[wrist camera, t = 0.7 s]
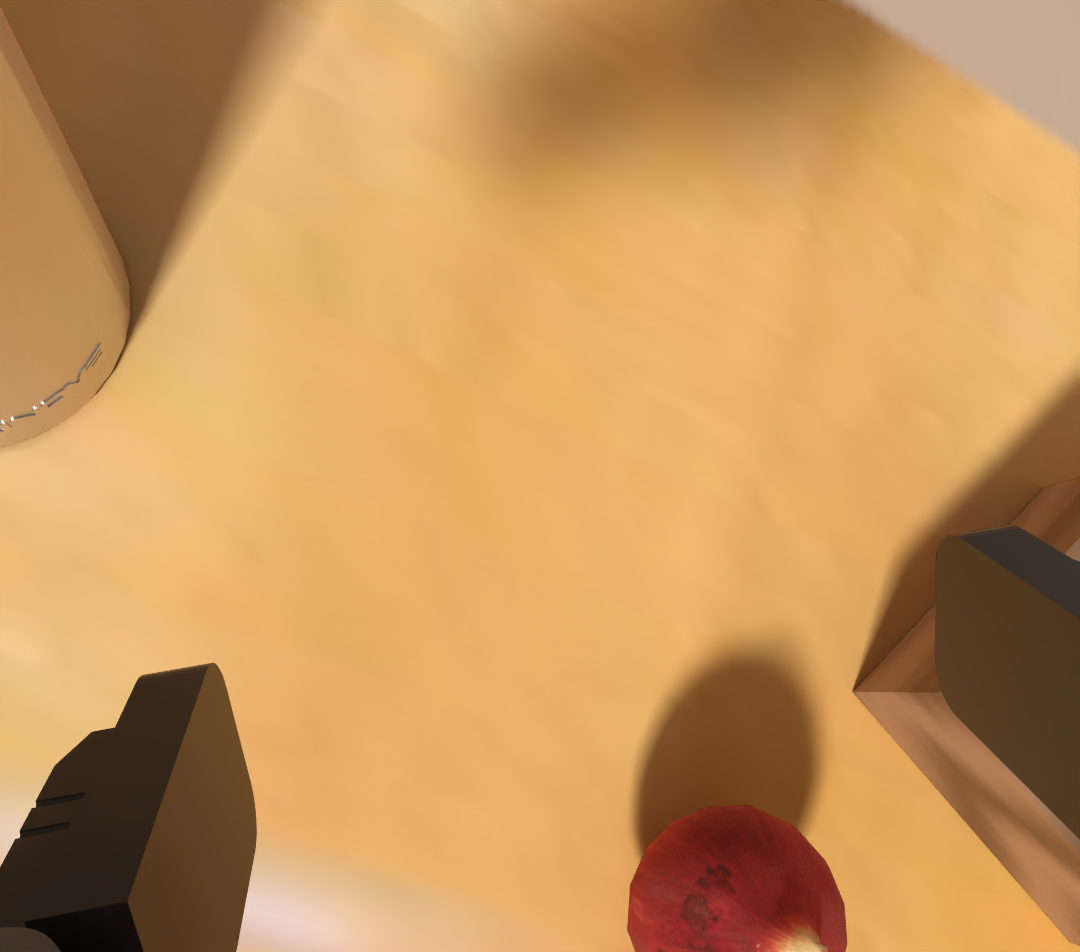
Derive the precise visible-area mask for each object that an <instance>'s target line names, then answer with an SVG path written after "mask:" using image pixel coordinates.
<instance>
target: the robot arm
mask: <svg viewBox="0 0 1080 952" xmlns="http://www.w3.org/2000/svg"><path fill="white" fill-rule="evenodd" d="M130 316H131V313H130V286H129V282H128V278H127V275H126V271H125V267H124V264H123V260H122V257H121V255H120V253H119V251H118V249H117V247H116V245H115V243H114V241H113V239H112V236H111V234H110V232H109V230H108V228H107V226H106V224H105V222H104V220H103V218H102V216H101V214H100V212H99V210H98V208H97V206H96V203H95V201H94V198H93V196H92V194H91V192H90V190H89V188H88V185H87V183H86V181H85V179H84V177H83V175H82V173H81V171H80V169H79V167H78V165H77V163H76V161H75V159H74V157H73V155H72V153H71V151H70V149H69V146H68V144H67V142H66V140H65V138H64V136H63V134H62V132H61V130H60V128H59V126H58V124H57V122H56V120H55V118H54V116H53V114H52V112H51V109H50V107H49V105H48V103H47V101H46V99H45V97H44V95H43V93H42V91H41V89H40V87H39V85H38V83H37V81H36V79H35V77H34V75H33V73H32V70H31V68H30V66H29V64H28V62H27V60H26V58H25V56H24V54H23V52H22V50H21V48H20V46H19V44H18V42H17V40H16V38H15V36H14V33H13V31H12V29H11V27H10V25H9V23H8V21H7V19H6V17H5V15H4V13H3V11H2V9H1V7H0V448H4V447H7V446H10V445H13V444H16V443H19V442H22V441H25V440H28V439H31V438H34V437H37V436H39V435H40V434H42V433H44V432H46V431H47V430H49V429H51V428H53V427H55V426H56V425H58V424H60V423H62V422H63V421H65V420H67V419H68V418H69V417H70V416H72V415H73V414H74V413H75V412H76V411H77V410H79V409H80V408H81V407H82V406H83V405H84V404H86V403H87V402H88V401H89V400H90V399H91V398H92V397H93V396H94V395H95V393H96V392H97V391H98V390H99V388H100V387H101V386H102V384H103V383H104V382H105V380H106V379H107V378H108V376H109V375H110V374H111V373H112V370H113V368H114V366H115V364H116V362H117V360H118V358H119V355H120V353H121V351H122V349H123V347H124V345H125V340H126V335H127V330H128V325H129V320H130ZM935 669H936V675H937V679H938V683H939V686H940V689H941V692H942V694H943V696H944V698H945V701H946V702H947V704H948V706H949V707H950V709H951V710H952V712H953V713H954V714H955V715H956V716H957V718H958V719H959V720H960V721H961V722H962V723H963V724H964V725H965V726H966V727H967V728H968V729H969V730H970V731H971V732H972V733H973V734H974V735H975V736H976V737H977V738H978V739H979V740H980V741H981V742H982V743H983V744H984V745H985V746H986V747H987V748H988V749H989V750H990V751H991V752H992V753H993V754H994V755H995V756H996V757H997V758H998V759H999V760H1000V761H1001V762H1002V763H1003V764H1004V765H1005V766H1006V767H1007V768H1008V769H1009V770H1010V771H1011V772H1012V773H1013V774H1014V775H1015V776H1016V777H1017V778H1018V779H1019V780H1020V781H1021V782H1022V783H1023V784H1024V785H1025V786H1026V787H1027V788H1028V789H1029V790H1030V791H1031V792H1032V793H1033V794H1034V795H1035V796H1036V797H1037V798H1038V799H1039V800H1040V801H1041V802H1042V803H1043V804H1044V805H1045V806H1046V807H1047V808H1048V809H1049V810H1050V811H1051V812H1052V813H1053V814H1054V815H1055V816H1056V817H1057V818H1058V819H1059V820H1060V821H1061V822H1062V823H1063V824H1064V825H1065V826H1066V827H1067V828H1068V829H1069V830H1070V831H1071V832H1072V833H1073V834H1074V835H1075V836H1076V837H1077V838H1078V839H1079V840H1080V561H1077V560H1074V559H1072V558H1070V557H1069V556H1067V555H1065V554H1064V553H1062V552H1060V551H1059V550H1057V549H1055V548H1054V547H1052V546H1050V545H1049V544H1047V543H1045V542H1044V541H1042V540H1040V539H1039V538H1037V537H1035V536H1034V535H1032V534H1030V533H1029V532H1027V531H1025V530H1024V529H1022V528H1020V527H1018V526H1015V525H1006V526H1000V527H994V528H989V529H983V530H977V531H971V532H966V533H960V534H954V535H949V536H946V537H945V538H944V539H943V540H942V541H941V542H940V544H939V547H938V549H937V554H936V582H935ZM256 833H257V829H256V811H255V802H254V796H253V790H252V786H251V782H250V778H249V774H248V770H247V766H246V762H245V758H244V754H243V751H242V747H241V743H240V739H239V735H238V731H237V727H236V723H235V719H234V716H233V712H232V708H231V704H230V700H229V696H228V692H227V688H226V685H225V681H224V678H223V676H222V673H221V671H220V669H219V668H218V666H217V665H216V664H215V663H209V664H204V665H198V666H192V667H187V668H181V669H175V670H170V671H164V672H158V673H152V674H147V675H142V676H140V677H139V678H138V680H137V682H136V684H135V686H134V688H133V690H132V692H131V695H130V697H129V699H128V701H127V703H126V705H125V707H124V710H123V712H122V714H121V716H120V718H119V720H118V722H117V725H116V727H115V728H110V729H105V730H99V731H94V732H91V733H90V734H89V735H88V736H87V737H86V738H85V739H84V740H82V741H81V742H80V743H79V744H78V745H77V746H76V747H75V748H74V749H73V750H71V751H70V752H69V753H68V754H67V755H66V756H65V757H64V758H63V759H62V760H60V761H59V762H58V763H57V764H56V765H55V766H54V768H53V770H52V772H51V774H50V775H49V777H48V779H47V781H46V783H45V785H44V787H43V788H42V790H41V792H40V794H39V796H38V798H37V800H36V808H32V809H31V811H30V813H29V815H28V816H27V818H26V820H25V822H24V824H23V826H22V828H21V829H20V838H18V839H15V841H14V843H13V844H12V846H11V848H10V850H9V852H8V854H7V856H6V857H5V859H4V861H3V863H2V865H1V867H0V952H236V950H237V945H238V939H239V934H240V929H241V923H242V918H243V913H244V907H245V902H246V897H247V891H248V886H249V881H250V875H251V870H252V865H253V859H254V854H255V848H256Z"/></svg>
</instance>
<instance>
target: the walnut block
mask: <svg viewBox="0 0 1080 952" xmlns="http://www.w3.org/2000/svg"><path fill="white" fill-rule="evenodd" d="M1009 525H1015V526H1018V527H1020V528H1022V529H1024V530H1025V531H1027V532H1029V533H1030V534H1032V535H1034V536H1035V537H1037V538H1039V539H1040V540H1042V541H1044V542H1045V543H1047V544H1049V545H1050V546H1052V547H1054V548H1055V549H1057V550H1059V551H1060V552H1062V553H1064V554H1065V555H1067V556H1069V557H1070V558H1072V559H1074V560H1077V561H1080V478H1076V479H1073V480H1069V481H1066V482H1062V483H1058V484H1055V485H1051V486H1048V487H1044V488H1043V489H1042V490H1041V491H1040V492H1039V493H1038V495H1037V496H1036V497H1035V498H1034V499H1033V500H1032V501H1031V502H1030V503H1029V504H1028V505H1027V506H1026V507H1025V508H1024V509H1023V511H1022V512H1021V513H1020V514H1019V515H1018V516H1017V517H1016V518H1015V519H1014V520H1013V521H1012V522H1011V523H1010V524H1009ZM853 693H854V694H855V695H856V696H857V697H858V699H859V700H860V701H861V702H862V703H863V704H864V705H865V707H866V708H867V709H868V710H869V711H870V712H871V713H872V715H873V716H874V717H875V718H876V719H877V720H878V722H879V723H880V724H881V725H882V726H883V727H884V728H885V730H886V731H887V732H888V733H889V734H890V735H891V737H892V738H893V739H894V740H895V741H896V742H897V743H898V745H899V746H900V747H901V748H902V749H903V750H904V752H905V753H906V754H907V755H908V756H909V757H910V758H911V760H912V761H913V762H914V763H915V764H916V765H917V766H918V768H919V769H920V770H921V771H922V772H923V773H924V775H925V776H926V777H927V778H928V779H929V780H930V781H931V783H932V784H933V785H934V786H935V787H936V788H937V790H938V791H939V792H940V793H941V794H942V795H943V796H944V798H945V799H946V800H947V801H948V802H949V803H950V805H951V806H952V807H953V808H954V809H955V810H956V811H957V813H958V814H959V815H960V816H961V817H962V818H963V820H964V821H965V822H966V823H967V824H968V825H969V826H970V828H971V829H972V830H973V831H974V832H975V833H976V834H977V836H978V837H979V838H980V839H981V840H982V841H983V843H984V844H985V845H986V846H987V847H988V848H989V849H990V851H991V852H992V853H993V854H994V855H995V856H996V858H997V859H998V860H999V861H1000V862H1001V863H1002V864H1003V866H1004V867H1005V868H1006V869H1007V870H1008V871H1009V873H1010V874H1011V875H1012V876H1013V877H1014V878H1015V879H1016V881H1017V882H1018V883H1019V884H1020V885H1021V886H1022V887H1023V889H1024V890H1025V891H1026V892H1027V893H1028V894H1029V896H1030V897H1031V898H1032V899H1033V900H1034V901H1035V902H1036V904H1037V905H1038V906H1039V907H1040V908H1041V909H1042V911H1043V912H1044V913H1045V914H1046V915H1047V916H1048V917H1049V919H1050V920H1051V921H1052V922H1053V923H1054V924H1055V926H1056V927H1057V928H1058V929H1059V930H1060V931H1061V932H1062V934H1063V935H1064V936H1065V937H1066V938H1067V939H1068V941H1069V942H1070V943H1073V944H1076V945H1079V946H1080V840H1079V839H1078V838H1077V837H1076V836H1075V835H1074V834H1073V833H1072V832H1071V831H1070V830H1069V829H1068V828H1067V827H1066V826H1065V825H1064V824H1063V823H1062V822H1061V821H1060V820H1059V819H1058V818H1057V817H1056V816H1055V815H1054V814H1053V813H1052V812H1051V811H1050V810H1049V809H1048V808H1047V807H1046V806H1045V805H1044V804H1043V803H1042V802H1041V801H1040V800H1039V799H1038V798H1037V797H1036V796H1035V795H1034V794H1033V793H1032V792H1031V791H1030V790H1029V789H1028V788H1027V787H1026V786H1025V785H1024V784H1023V783H1022V782H1021V781H1020V780H1019V779H1018V778H1017V777H1016V776H1015V775H1014V774H1013V773H1012V772H1011V771H1010V770H1009V769H1008V768H1007V767H1006V766H1005V765H1004V764H1003V763H1002V762H1001V761H1000V760H999V759H998V758H997V757H996V756H995V755H994V754H993V753H992V752H991V751H990V750H989V749H988V748H987V747H986V746H985V745H984V744H983V743H982V742H981V741H980V740H979V739H978V738H977V737H976V736H975V735H974V734H973V733H972V732H971V731H970V730H969V729H968V728H967V727H966V726H965V725H964V724H963V723H962V722H961V721H960V720H959V719H958V718H957V716H956V715H955V714H954V713H953V712H952V710H951V709H950V707H949V706H948V704H947V702H946V701H945V698H944V696H943V694H942V692H941V689H940V686H939V683H938V679H937V675H936V669H935V605H934V606H933V607H932V608H931V609H930V610H929V611H928V612H927V613H926V614H925V615H924V616H923V617H922V618H921V619H920V621H919V622H918V623H917V624H916V625H915V626H914V627H913V628H912V629H911V630H910V631H909V632H908V633H907V634H906V635H905V637H904V638H903V639H902V640H901V641H900V642H899V643H898V644H897V645H896V646H895V647H894V648H893V649H892V650H891V651H890V653H889V654H888V655H887V656H886V657H885V658H884V659H883V660H882V661H881V662H880V663H879V664H878V665H877V666H876V667H875V669H874V670H873V671H872V672H871V673H870V674H869V675H868V676H867V677H866V678H865V679H864V680H863V681H862V682H861V684H860V685H859V686H858V687H857V688H856V689H855V690H854V691H853Z"/></svg>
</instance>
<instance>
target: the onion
mask: <svg viewBox="0 0 1080 952" xmlns="http://www.w3.org/2000/svg"><path fill="white" fill-rule="evenodd" d="M627 930H628V933H629V936H630V938H631V941H632V944H633V947H634V949H635V952H845V951H846V947H847V932H846V920H845V907H844V902H843V900H842V897H841V895H840V892H839V890H838V888H837V885H836V883H835V880H834V878H833V875H832V873H831V871H830V868H829V866H828V865H827V863H826V861H825V860H824V858H823V857H822V856H821V855H820V854H819V853H818V852H817V851H816V850H815V848H814V847H813V846H812V845H811V844H810V843H809V842H808V841H807V840H806V838H805V837H804V836H803V835H802V834H801V833H800V832H799V831H798V830H797V828H795V827H793V826H792V825H790V824H788V823H786V822H784V821H782V820H780V819H778V818H775V817H773V816H771V815H769V814H767V813H765V812H762V811H760V810H758V809H756V808H754V807H752V806H750V805H742V806H711V807H707V808H703V809H701V810H698V811H696V812H694V813H691V814H689V815H687V816H684V817H682V818H680V819H677V820H675V821H673V822H671V823H670V824H669V825H668V826H667V827H666V828H665V829H664V830H663V831H662V832H661V833H660V835H659V836H658V837H657V838H656V839H655V840H654V841H653V842H652V843H651V844H650V845H649V846H648V847H647V848H646V850H645V853H644V855H643V857H642V859H641V862H640V864H639V866H638V868H637V871H636V873H635V875H634V877H633V880H632V882H631V884H630V895H629V910H628V926H627Z"/></svg>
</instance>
